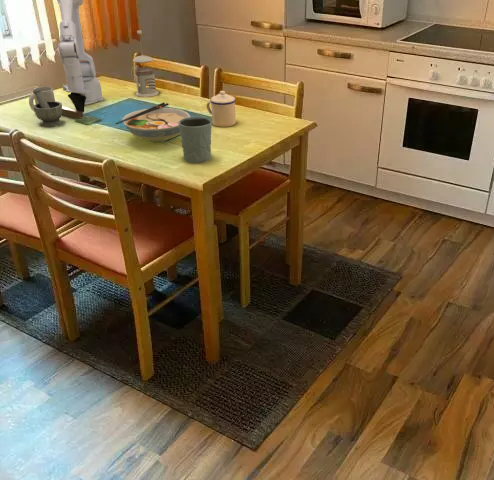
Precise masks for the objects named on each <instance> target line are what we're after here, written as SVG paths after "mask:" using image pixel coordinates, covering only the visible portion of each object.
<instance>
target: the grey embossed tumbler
mask: <svg viewBox="0 0 494 480" xmlns="http://www.w3.org/2000/svg"><path fill="white" fill-rule="evenodd" d="M178 123H179V129H180V134H179V135H180V138H181V146H182V152H183V153H182V154H183V159H184V161H185V162H187V163H190V164H203V163H206V162H209V161H210V160H211V159H212V148H211V147H212V125H213V123H212V119H210V118H208V117H203V116H190V117H188V118H184V119H181V120H180V121H179V122H178Z"/></svg>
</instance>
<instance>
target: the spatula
mask: <svg viewBox="0 0 494 480" xmlns="http://www.w3.org/2000/svg"><path fill="white" fill-rule="evenodd" d="M61 117H66V118H71V119H74V121H75V122H76V123H79V124H83V125H86V126H91V125H92V124H95V123H98V122H100V121H101V120H102V119H101V118H99V117H94V116H91V115H86V116H84V113H83V112H82V111H79V110H76V108H70V107H67V106H63V105H62V115H61Z"/></svg>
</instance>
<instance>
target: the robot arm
mask: <svg viewBox="0 0 494 480" xmlns="http://www.w3.org/2000/svg"><path fill="white" fill-rule="evenodd" d="M55 1H56V3H57V4H58V5H59V9H60V15H61V16H60V17H61V21H60V22H59V23H58V33H59V42H58V43H57V51H58V54H59V57H60V60H61V64H62V65H63V70H64V75H65V81H66V84H62V85H61V86H62V91H65V92H66V93H69V94H67V97H68V98H69V99H70V101H71V102H72V104H73V107H74V109H75V110H79V111H82V112H83V114H84V113H85V107H86V106H87V105H92V104H94V103H95V104H96V103H97V102H101V101H104V100H105V98H103V91H102V85H101V81H100V80H99V78H98V77H96V76H97V75H96V74H97V72H96V66H95V63H94V58H93V57H92V56H91V55H90V54H89V53H87V52H85V45H84V39H83V38H84V37H83V31H82V26H81V19H80V12H79V11H80V6H82V5H83V4H84V0H55Z"/></svg>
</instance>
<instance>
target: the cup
mask: <svg viewBox="0 0 494 480" xmlns="http://www.w3.org/2000/svg"><path fill="white" fill-rule="evenodd" d="M35 89H41V93H42V95H43V96H44V98H45V100H46V102H47V101H56V97H55V93H54V89H53V87H52V86H38V87H34V88H32V90H31V91H32V94H31V95H29V98H28V105H29V107H30V109H31V111H33V112H34V113H35V111H34V105H35V104H38V103H39V102H38V100H37V98H36V95H35V94H34V93H33V91H34V90H35Z"/></svg>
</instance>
